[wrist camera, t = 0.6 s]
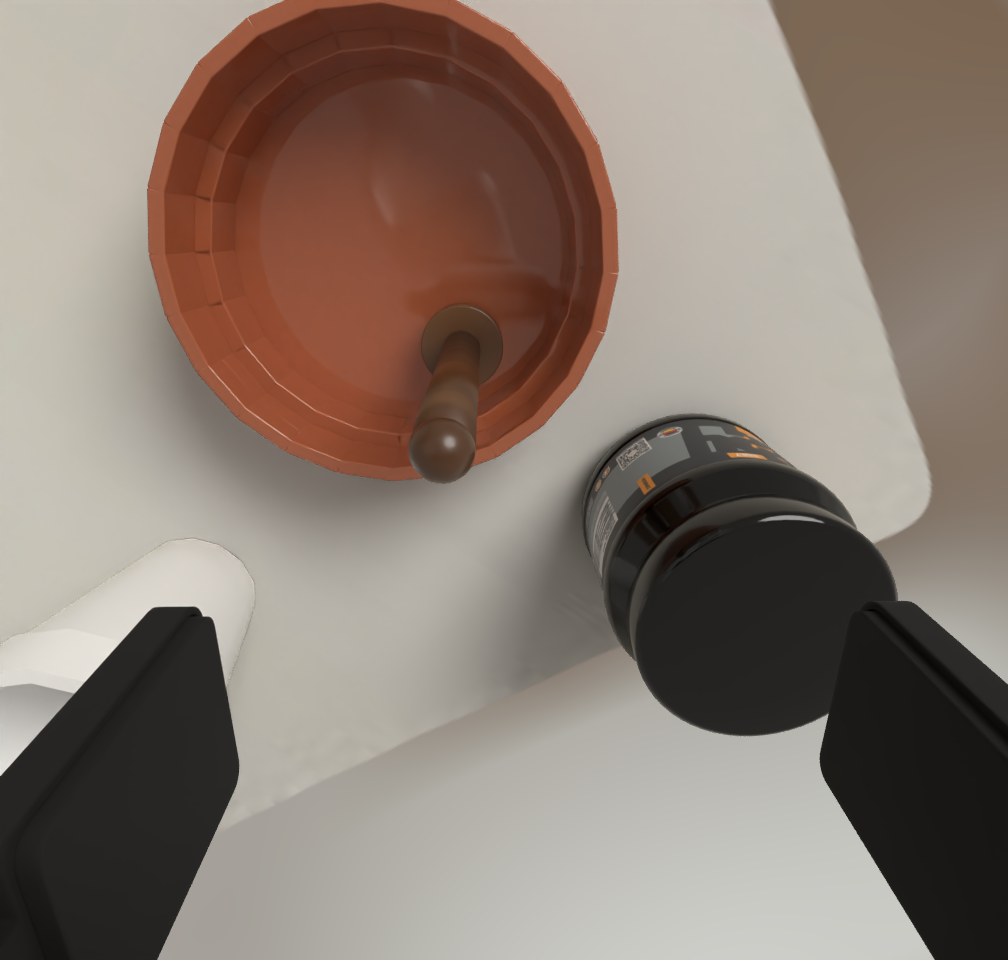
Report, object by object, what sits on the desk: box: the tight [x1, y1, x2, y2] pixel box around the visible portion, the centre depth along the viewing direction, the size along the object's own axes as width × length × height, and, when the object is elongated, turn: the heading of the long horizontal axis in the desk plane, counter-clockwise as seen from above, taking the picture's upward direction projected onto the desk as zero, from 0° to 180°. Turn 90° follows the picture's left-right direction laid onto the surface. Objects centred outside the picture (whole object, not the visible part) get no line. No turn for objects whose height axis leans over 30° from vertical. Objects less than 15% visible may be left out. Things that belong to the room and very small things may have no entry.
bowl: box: [147, 0, 619, 481], centre depth 27 cm, size 17×17×6 cm
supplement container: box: [582, 413, 898, 736], centre depth 29 cm, size 10×10×12 cm
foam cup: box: [0, 538, 255, 776], centre depth 30 cm, size 10×9×13 cm
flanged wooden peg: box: [408, 303, 503, 484], centre depth 22 cm, size 4×4×16 cm
